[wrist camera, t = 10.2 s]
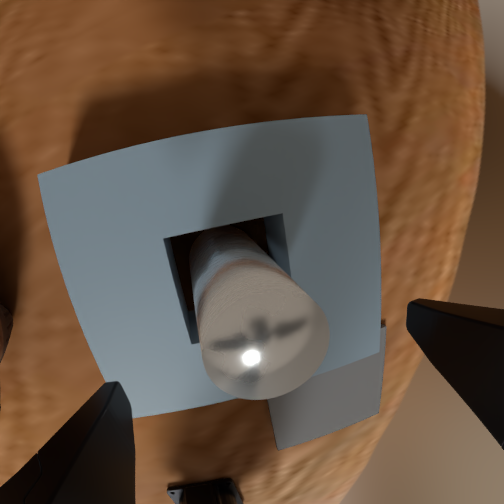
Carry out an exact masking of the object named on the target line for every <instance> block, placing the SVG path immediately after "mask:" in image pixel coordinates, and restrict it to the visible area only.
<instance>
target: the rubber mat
mask: <svg viewBox="0 0 504 504" xmlns="http://www.w3.org/2000/svg"><path fill="white" fill-rule="evenodd" d="M385 343H386V326H385V325H384V324H382V325H381V328H380V350H379V352H378V353H376V354H373V355H371V356H368V357H366V358H363V359H360V360H358V361H355V362H352V363H350V364H347V365H344V366H342V367H339V368H336V369H333V370H330V371H328V372H325V373H322V374H319V375H316V376H313V377H310V378H309V379H308V380H307V381H306V382H305V383H303V384H302V385H300V386H299V387H298V388H296V389H294V390H292V391H290V392H288V393H286V394H284V395H281V396H278V397H274V398H270V399H267V401H268V406H269V411H270V416H271V421H272V426H273V431H274V436H275V441H276V446H277V449H278V451H279V450H282V449H285V448H288V447H292V446H295V445H298V444H301V443H304V442H307V441H310V440H313V439H316V438H319V437H321V436H324V435H327V434H330V433H332V432H335V431H337V430H340V429H343V428H345V427H348V426H350V425H352V424H355V423H357V422H360V421H362V420H364V419H367V418H369V417H371V416H373V415H376V414H378V413H379V407H380V399H381V390H382V381H383V370H384V358H385Z"/></svg>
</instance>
